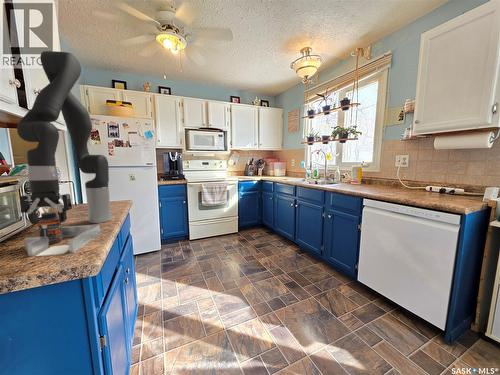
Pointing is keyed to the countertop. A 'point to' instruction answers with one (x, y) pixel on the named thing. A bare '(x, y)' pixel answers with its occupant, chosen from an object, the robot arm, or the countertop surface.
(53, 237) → the supplement bottle
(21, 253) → the countertop surface
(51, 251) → the pad
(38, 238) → the grey angled wall frame
